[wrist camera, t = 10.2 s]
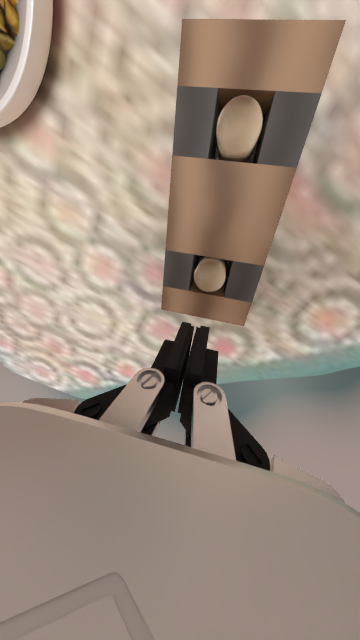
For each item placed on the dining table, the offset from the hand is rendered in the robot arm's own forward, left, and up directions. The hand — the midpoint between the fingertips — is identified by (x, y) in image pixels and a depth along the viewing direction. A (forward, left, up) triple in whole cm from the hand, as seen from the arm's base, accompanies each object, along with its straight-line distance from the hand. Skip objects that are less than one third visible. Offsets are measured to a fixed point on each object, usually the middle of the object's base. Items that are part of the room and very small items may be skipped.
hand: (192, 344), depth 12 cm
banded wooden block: (0, -7, -23) cm, 24 cm away
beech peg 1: (0, 0, -23) cm, 23 cm away
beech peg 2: (0, -14, -23) cm, 27 cm away
